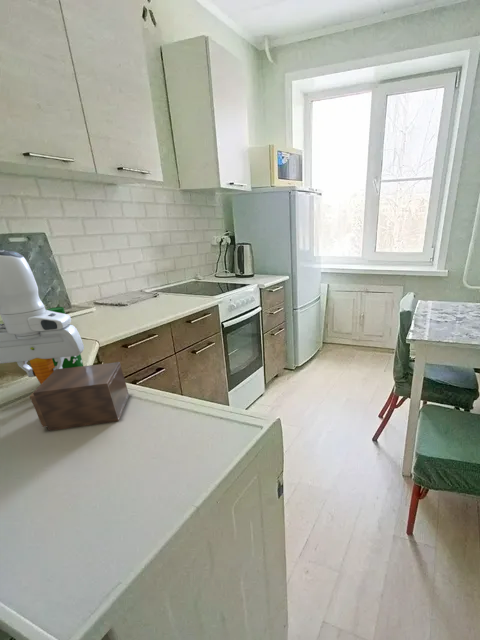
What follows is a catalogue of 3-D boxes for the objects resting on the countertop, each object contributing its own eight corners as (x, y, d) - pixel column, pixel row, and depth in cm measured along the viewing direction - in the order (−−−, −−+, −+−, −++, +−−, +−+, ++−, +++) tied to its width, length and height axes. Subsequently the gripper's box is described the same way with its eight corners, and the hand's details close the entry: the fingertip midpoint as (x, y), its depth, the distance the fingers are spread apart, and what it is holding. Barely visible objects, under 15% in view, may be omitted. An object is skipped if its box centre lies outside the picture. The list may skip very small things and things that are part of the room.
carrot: (68, 393, 93) (49, 339, 87) (49, 401, 89) (28, 345, 83) (58, 389, 96) (39, 336, 89) (39, 397, 92) (17, 342, 85)
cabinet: (48, 431, 78) (32, 392, 73) (68, 404, 89) (55, 369, 85) (118, 421, 80) (107, 383, 76) (129, 396, 91) (119, 361, 87)
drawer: (36, 428, 77) (23, 396, 74) (56, 403, 87) (45, 375, 84) (107, 418, 80) (97, 387, 76) (118, 395, 90) (110, 367, 86)
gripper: (-30, 329, 79) (-6, 384, 85) (68, 321, 83) (85, 374, 89) (-15, 322, 85) (7, 374, 91) (76, 314, 88) (92, 365, 94)
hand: (46, 374), depth 90 cm, fingers closed on carrot, 5 cm apart
